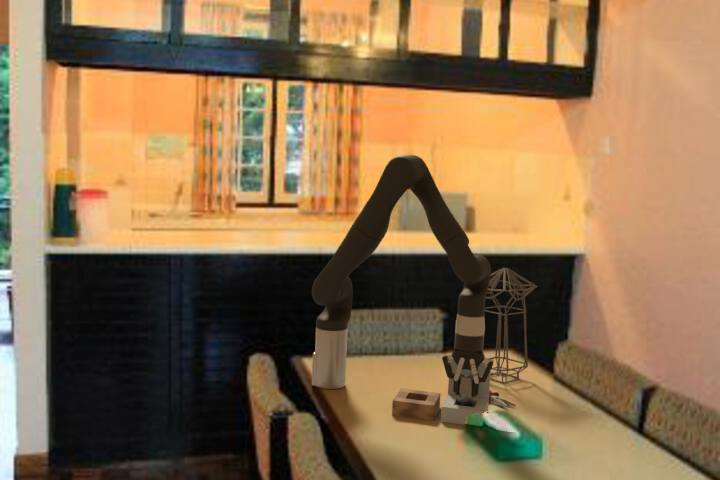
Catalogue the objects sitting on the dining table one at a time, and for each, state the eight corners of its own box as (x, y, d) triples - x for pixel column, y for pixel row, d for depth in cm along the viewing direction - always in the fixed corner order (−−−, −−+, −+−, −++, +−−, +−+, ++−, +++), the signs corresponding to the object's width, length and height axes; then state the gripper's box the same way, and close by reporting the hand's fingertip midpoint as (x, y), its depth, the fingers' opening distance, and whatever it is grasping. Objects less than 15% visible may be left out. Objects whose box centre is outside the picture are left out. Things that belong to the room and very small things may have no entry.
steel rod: (455, 413, 202) (458, 376, 201) (457, 408, 206) (460, 372, 205) (471, 415, 201) (473, 378, 200) (472, 410, 205) (475, 374, 204)
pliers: (498, 414, 209) (499, 405, 208) (446, 394, 224) (446, 385, 224) (526, 407, 216) (526, 398, 215) (473, 388, 231) (474, 379, 231)
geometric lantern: (503, 388, 230) (508, 273, 227) (465, 376, 242) (469, 266, 239) (537, 380, 240) (542, 269, 236) (498, 368, 252) (502, 263, 249)
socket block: (391, 415, 203) (392, 400, 202) (400, 402, 213) (401, 388, 213) (433, 420, 200) (433, 405, 200) (439, 407, 211) (440, 393, 210)
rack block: (440, 421, 200) (443, 369, 198) (447, 406, 212) (450, 357, 210) (483, 427, 197) (486, 374, 195) (487, 411, 209) (491, 361, 207)
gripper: (440, 331, 199) (436, 396, 201) (495, 337, 195) (491, 402, 197) (444, 325, 206) (441, 387, 208) (498, 331, 203) (494, 394, 205)
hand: (465, 394), depth 203 cm, fingers closed on steel rod, 4 cm apart
